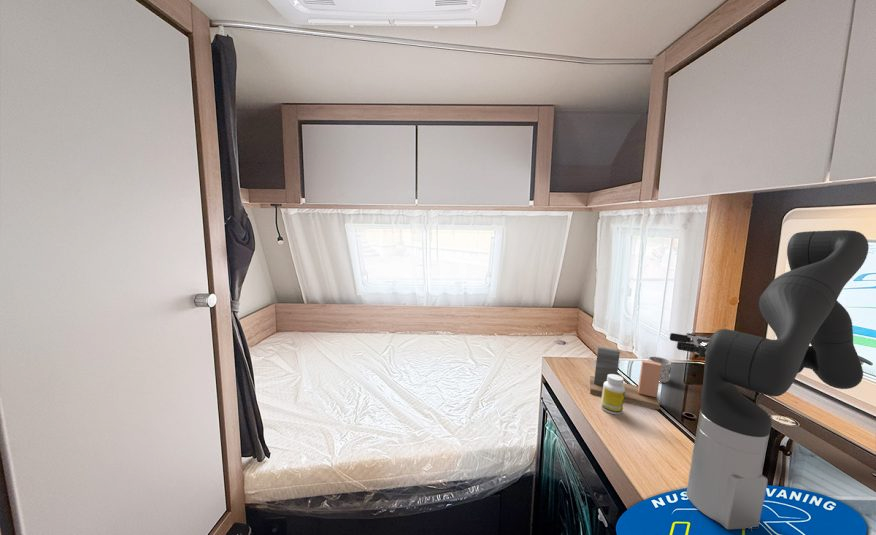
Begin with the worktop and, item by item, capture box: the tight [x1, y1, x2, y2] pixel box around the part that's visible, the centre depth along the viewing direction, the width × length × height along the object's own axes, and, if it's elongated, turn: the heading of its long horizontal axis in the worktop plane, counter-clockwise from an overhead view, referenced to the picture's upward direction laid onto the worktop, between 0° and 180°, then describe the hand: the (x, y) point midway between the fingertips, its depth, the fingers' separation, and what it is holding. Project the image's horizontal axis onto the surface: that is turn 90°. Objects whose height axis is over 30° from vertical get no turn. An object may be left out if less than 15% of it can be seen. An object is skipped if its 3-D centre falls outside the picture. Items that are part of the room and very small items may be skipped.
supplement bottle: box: [600, 374, 625, 415], centre depth 90 cm, size 5×5×10 cm
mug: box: [647, 356, 672, 383], centre depth 113 cm, size 10×7×7 cm
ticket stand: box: [589, 346, 661, 411], centre depth 99 cm, size 10×18×14 cm, turn 65°
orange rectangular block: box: [637, 359, 662, 398], centre depth 96 cm, size 2×5×10 cm, turn 65°
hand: (673, 340), depth 93 cm, fingers open, 8 cm apart
